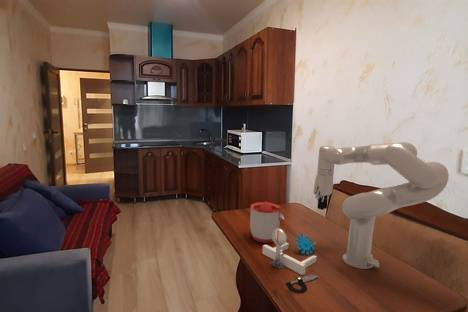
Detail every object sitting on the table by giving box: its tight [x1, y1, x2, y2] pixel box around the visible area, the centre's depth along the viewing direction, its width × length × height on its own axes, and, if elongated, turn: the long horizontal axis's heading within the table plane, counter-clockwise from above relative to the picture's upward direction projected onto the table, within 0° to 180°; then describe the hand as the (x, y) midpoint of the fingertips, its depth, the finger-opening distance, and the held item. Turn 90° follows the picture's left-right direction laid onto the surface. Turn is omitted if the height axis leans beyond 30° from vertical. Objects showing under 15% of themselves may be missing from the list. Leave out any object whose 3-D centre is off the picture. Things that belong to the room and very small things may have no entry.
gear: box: [295, 233, 317, 256], centre depth 136 cm, size 11×6×10 cm
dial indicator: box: [269, 227, 288, 270], centre depth 121 cm, size 7×6×16 cm
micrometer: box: [285, 274, 319, 295], centre depth 108 cm, size 15×7×2 cm, turn 114°
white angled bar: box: [262, 241, 317, 276], centre depth 127 cm, size 22×14×4 cm, turn 41°
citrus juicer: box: [249, 201, 285, 244], centre depth 146 cm, size 16×17×20 cm
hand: (322, 208), depth 139 cm, fingers closed
